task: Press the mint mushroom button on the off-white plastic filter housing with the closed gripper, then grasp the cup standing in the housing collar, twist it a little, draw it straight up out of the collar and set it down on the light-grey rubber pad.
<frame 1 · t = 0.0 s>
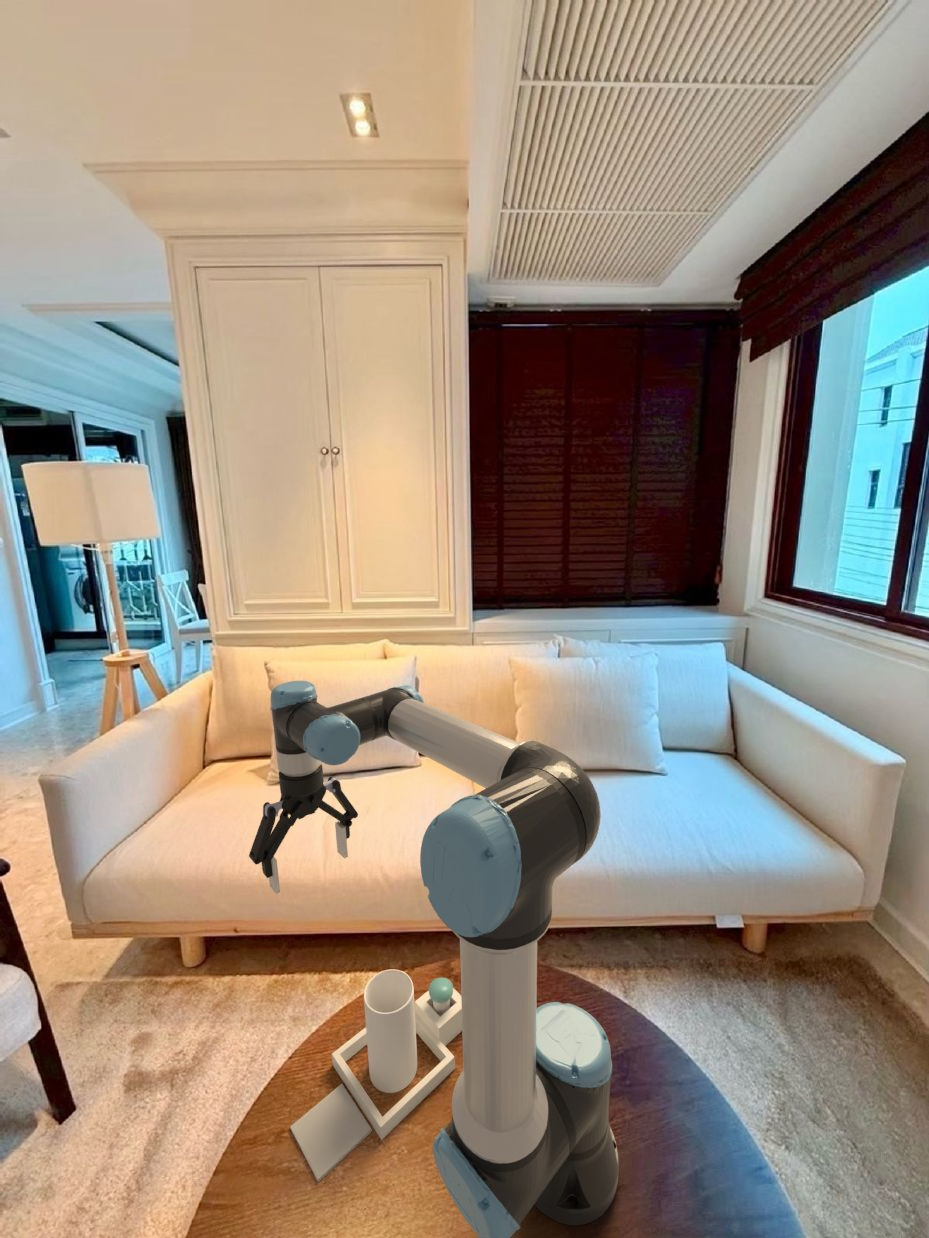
hand: (310, 871, 98), 28 cm above the table, fingers open, 13 cm apart
pad: (330, 1130, 81), on the table
mint mushroom button: (441, 998, 96), point 6 cm above the table, slide at 0.0 cm
housing: (393, 1066, 90), on the table
cup: (393, 1067, 90), resting in housing
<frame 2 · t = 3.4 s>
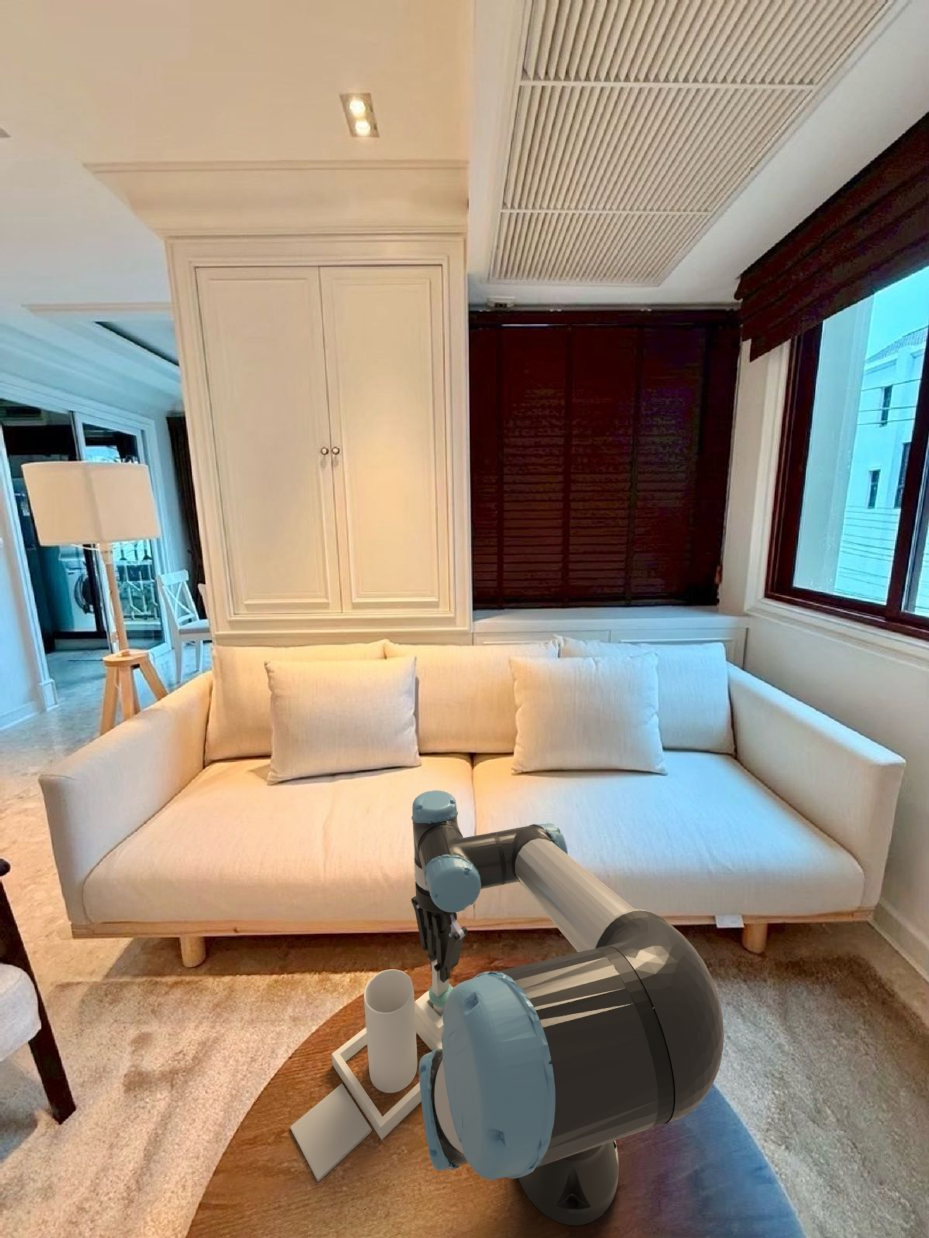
hand: (440, 989, 96), 8 cm above the table, fingers closed
mint mushroom button: (441, 1002, 96), point 5 cm above the table, slide at 0.8 cm, touching gripper
everything else where it was.
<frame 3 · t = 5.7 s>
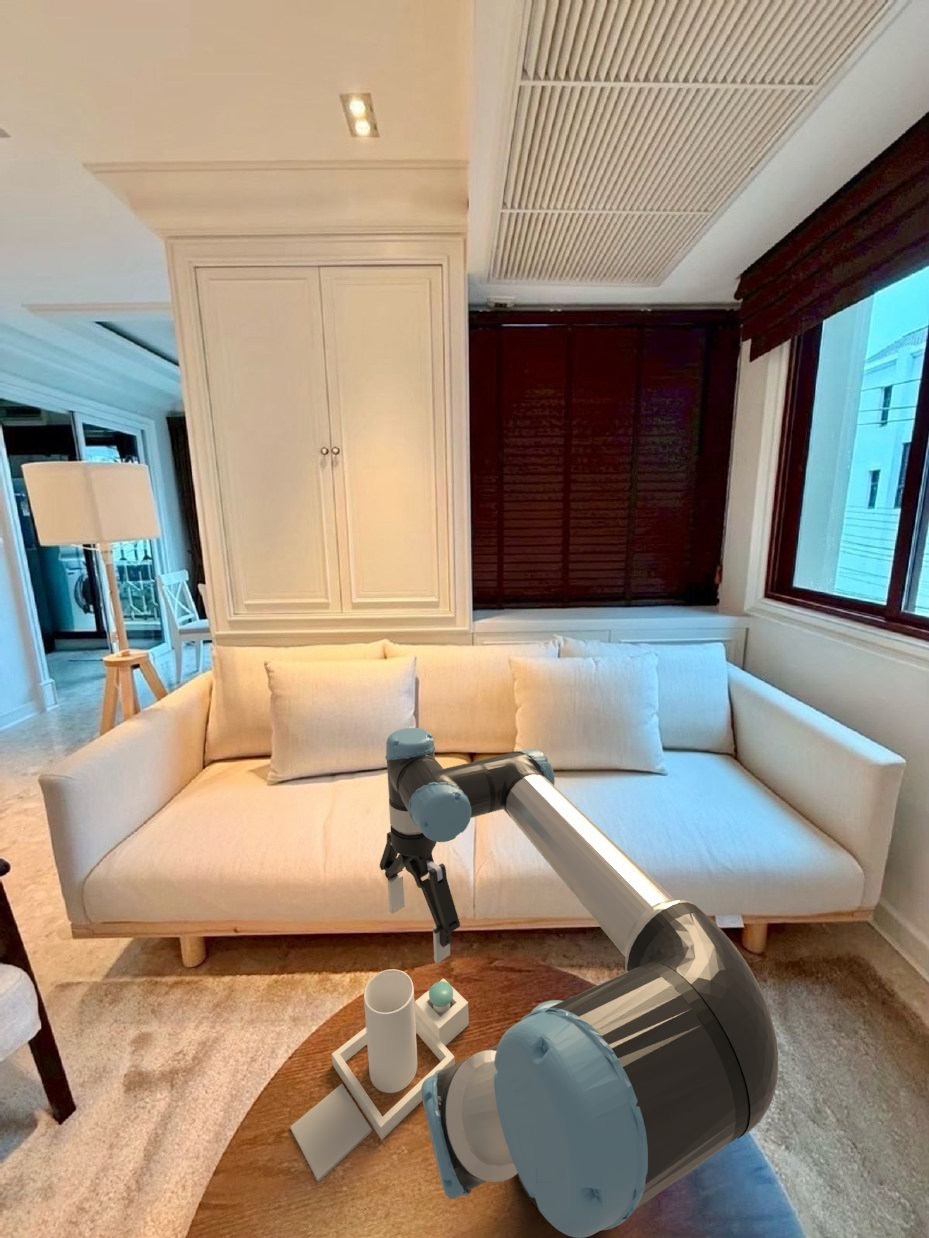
hand: (418, 932, 90), 23 cm above the table, fingers open, 13 cm apart
mint mushroom button: (441, 1002, 96), point 5 cm above the table, slide at 0.9 cm
everything else where it was.
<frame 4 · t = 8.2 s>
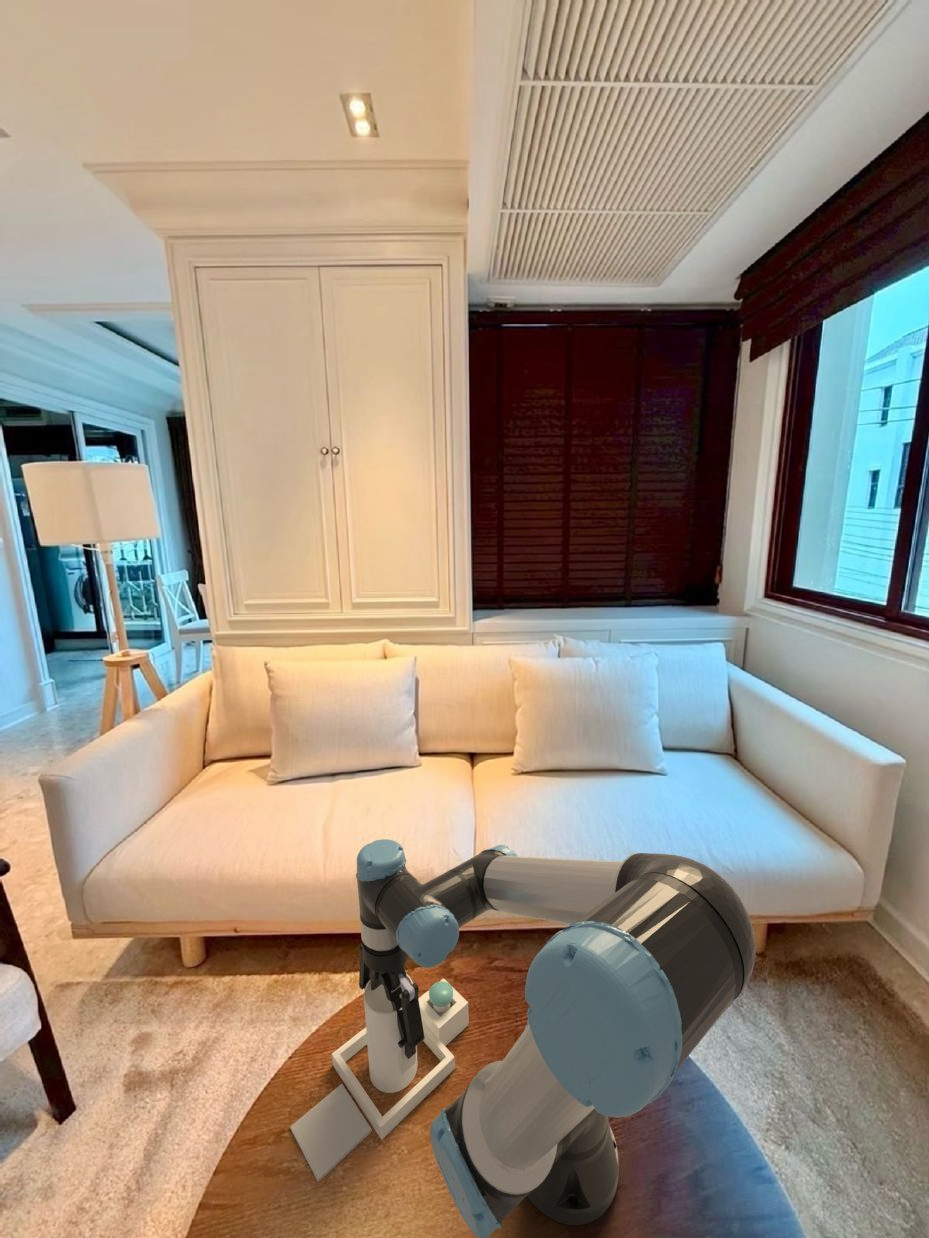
hand: (392, 1046, 89), 4 cm above the table, fingers closed on cup, 8 cm apart
cup: (393, 1067, 90), resting in housing, touching gripper
everything else where it was.
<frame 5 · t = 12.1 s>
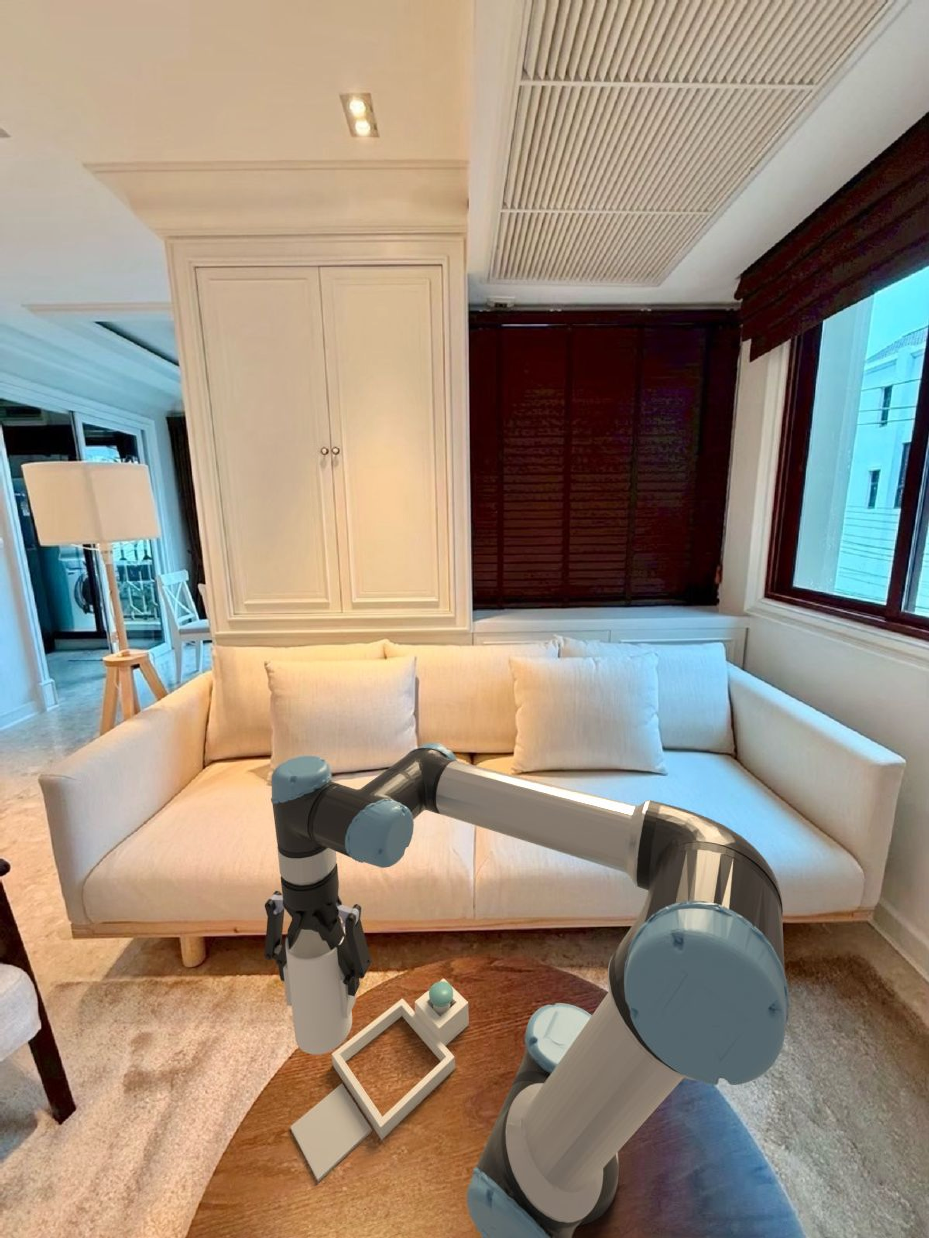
hand: (321, 1002, 76), 23 cm above the table, fingers closed on cup, 8 cm apart
cup: (324, 1027, 78), point 19 cm above the table, touching gripper
everything else where it was.
when the fingers open (6 cm above the table, at t = 15.8 s): cup drops 1 cm, resting on pad.
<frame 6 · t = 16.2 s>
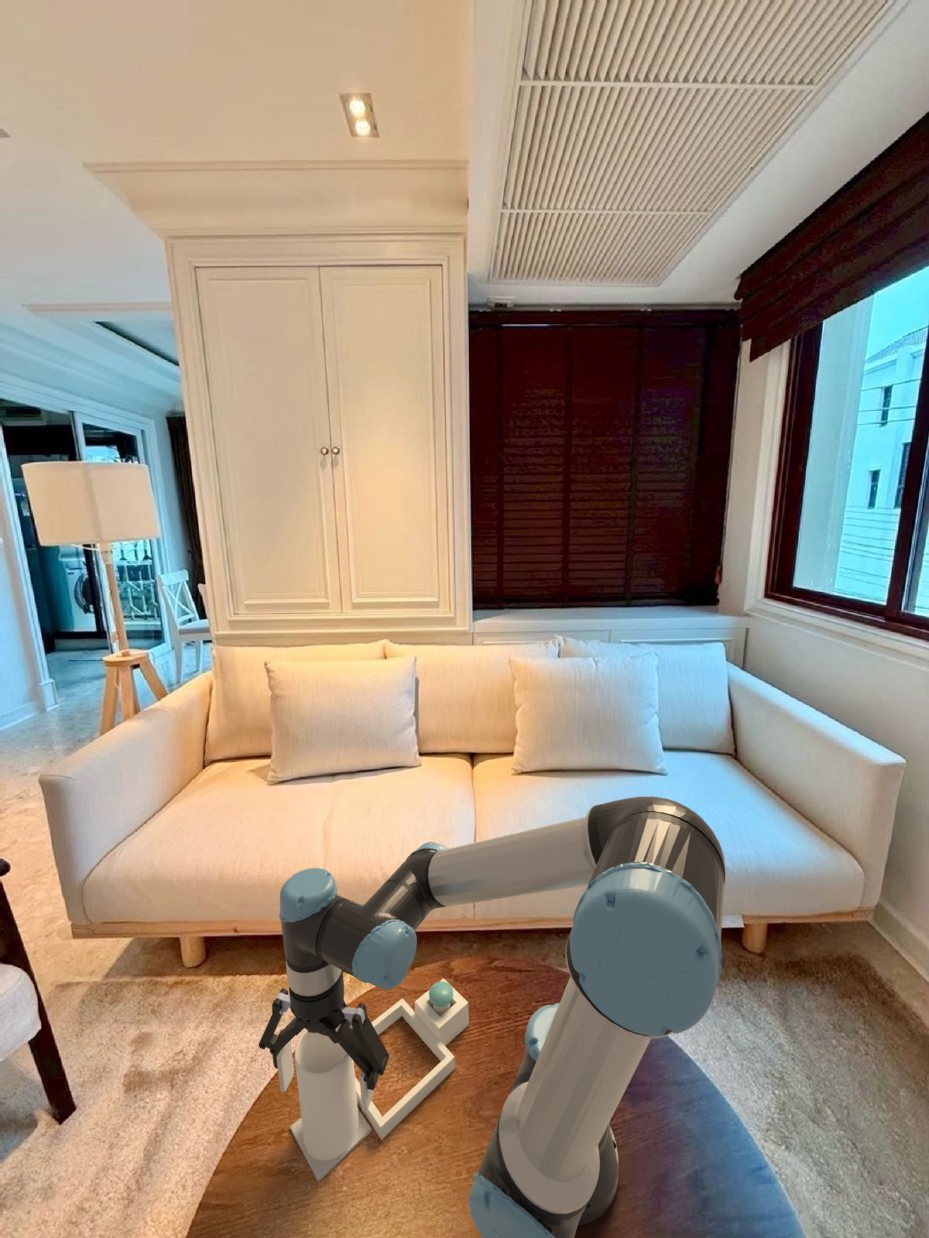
hand: (327, 1091, 79), 8 cm above the table, fingers open, 13 cm apart
cup: (331, 1128, 81), resting on pad
everything else where it was.
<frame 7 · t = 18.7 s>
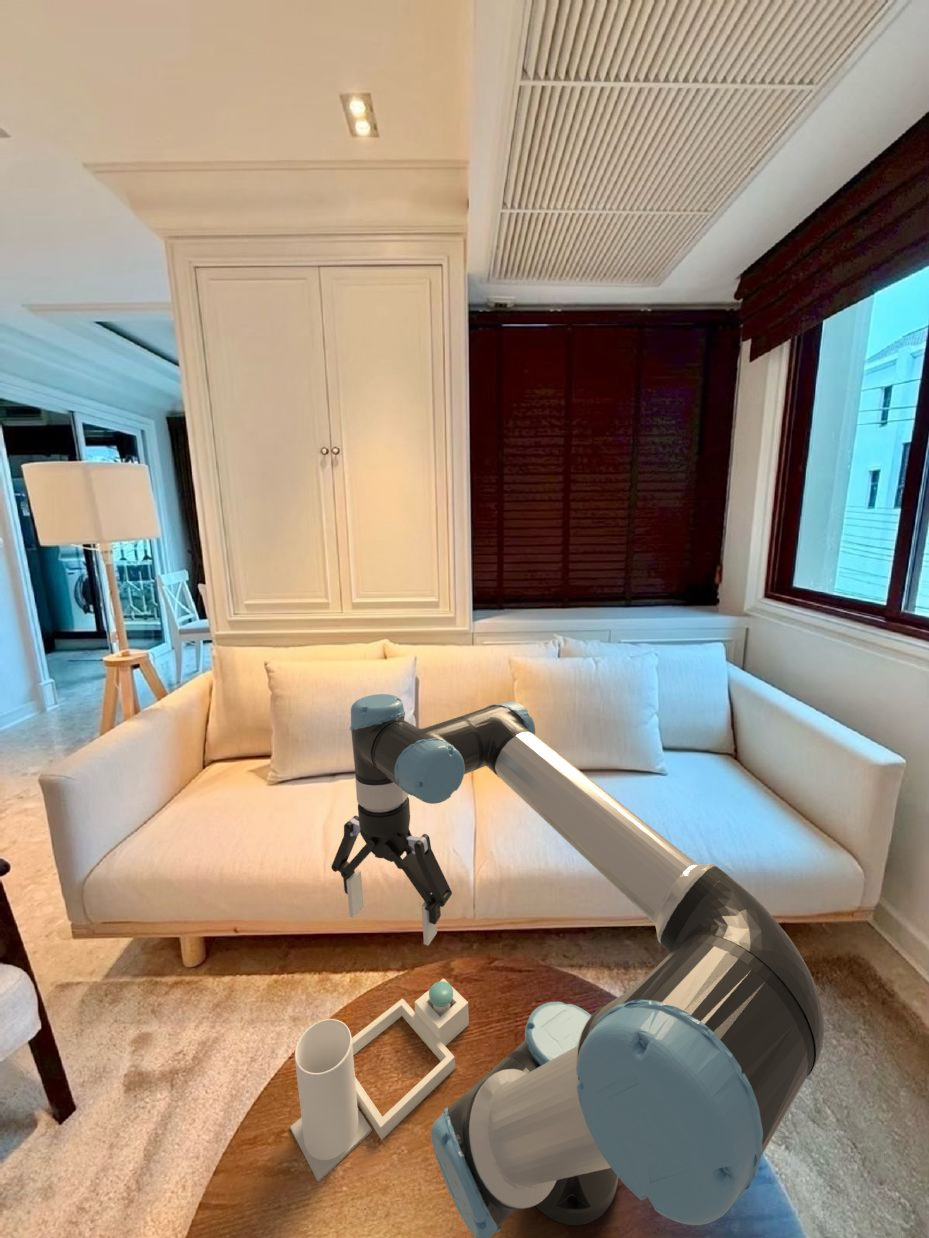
hand: (392, 924, 81), 31 cm above the table, fingers open, 13 cm apart
nothing on the table moved.
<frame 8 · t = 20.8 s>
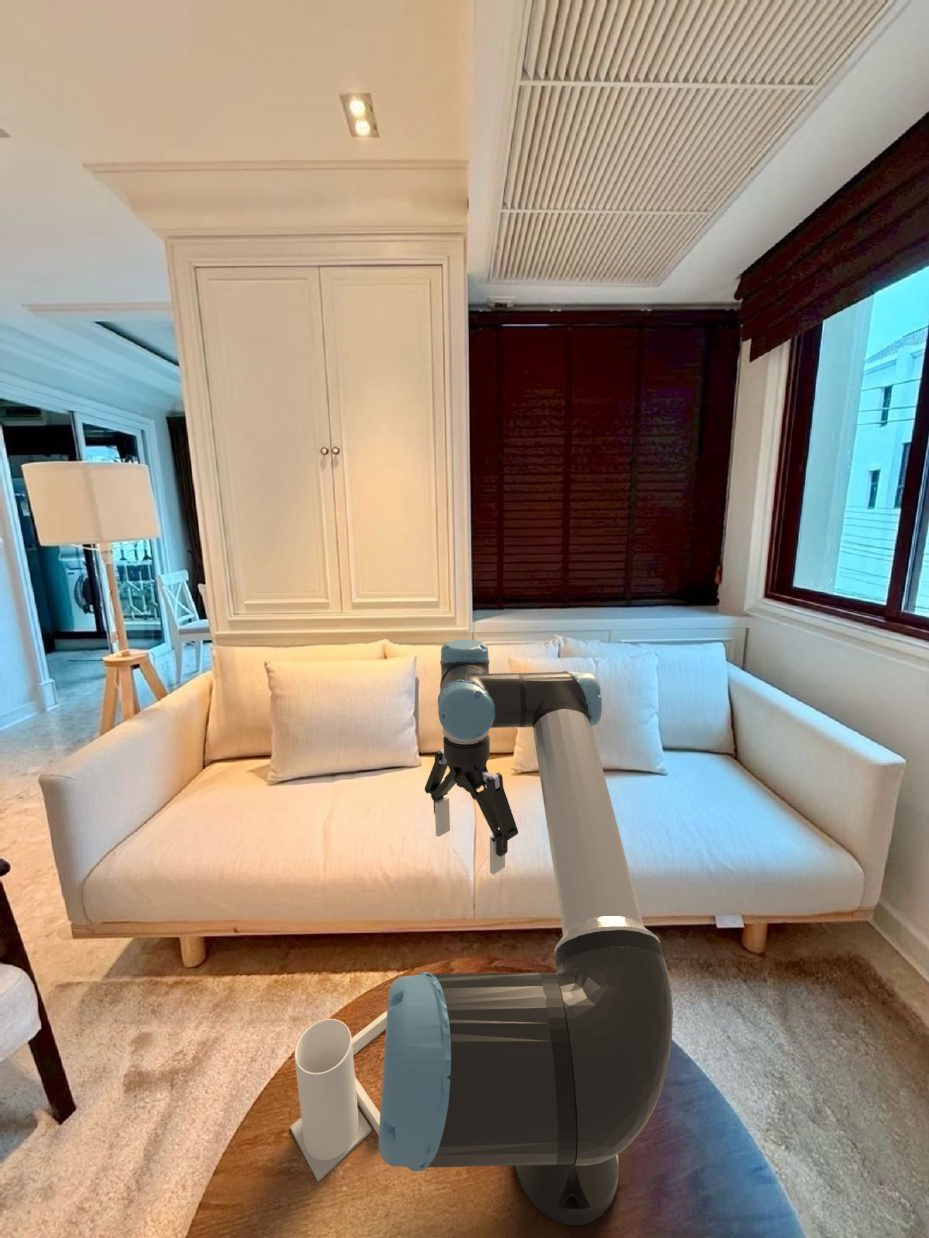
hand: (468, 850, 89), 37 cm above the table, fingers open, 13 cm apart
nothing on the table moved.
at the end: mint mushroom button slide at 0.9 cm; cup inside the target area on the pad (0.1 cm from its centre), point 0.3 cm above the pad's base; cup tilted 0° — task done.
